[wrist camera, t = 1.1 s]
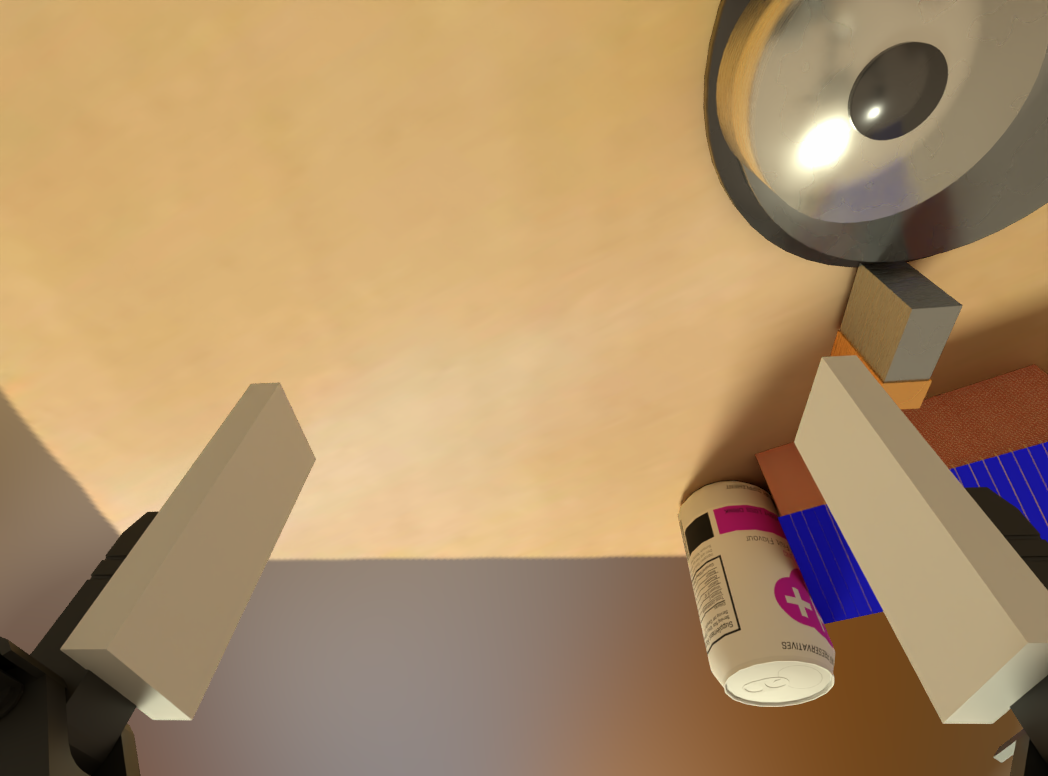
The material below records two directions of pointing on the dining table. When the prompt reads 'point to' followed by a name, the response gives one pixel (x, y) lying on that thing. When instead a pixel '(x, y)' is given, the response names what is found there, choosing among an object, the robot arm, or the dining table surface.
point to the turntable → (922, 251)
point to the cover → (874, 96)
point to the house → (965, 448)
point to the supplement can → (753, 599)
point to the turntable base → (727, 162)
